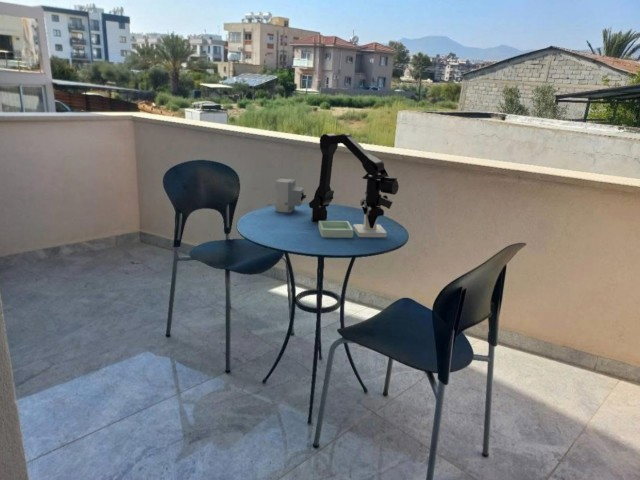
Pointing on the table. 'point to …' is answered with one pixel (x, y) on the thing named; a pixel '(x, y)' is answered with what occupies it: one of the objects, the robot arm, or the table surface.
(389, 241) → the table surface
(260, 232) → the table surface
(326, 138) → the robot arm
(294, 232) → the table surface
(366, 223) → the block
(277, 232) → the table surface
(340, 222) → the parts tray
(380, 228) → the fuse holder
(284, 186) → the circuit breaker
